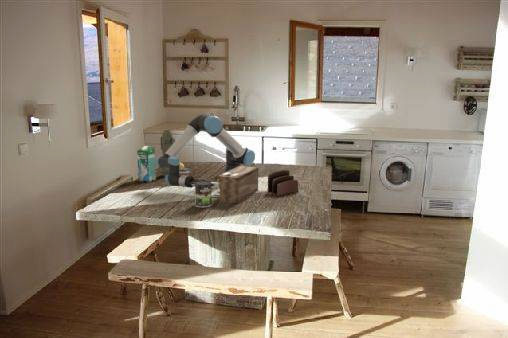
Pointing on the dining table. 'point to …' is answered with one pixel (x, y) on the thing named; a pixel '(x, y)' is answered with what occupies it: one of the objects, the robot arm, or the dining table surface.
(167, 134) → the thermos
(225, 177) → the box
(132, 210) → the dining table surface
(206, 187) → the coffee can
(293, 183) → the letter holder
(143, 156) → the milk carton
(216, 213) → the dining table surface
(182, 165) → the stuffed giraffe
